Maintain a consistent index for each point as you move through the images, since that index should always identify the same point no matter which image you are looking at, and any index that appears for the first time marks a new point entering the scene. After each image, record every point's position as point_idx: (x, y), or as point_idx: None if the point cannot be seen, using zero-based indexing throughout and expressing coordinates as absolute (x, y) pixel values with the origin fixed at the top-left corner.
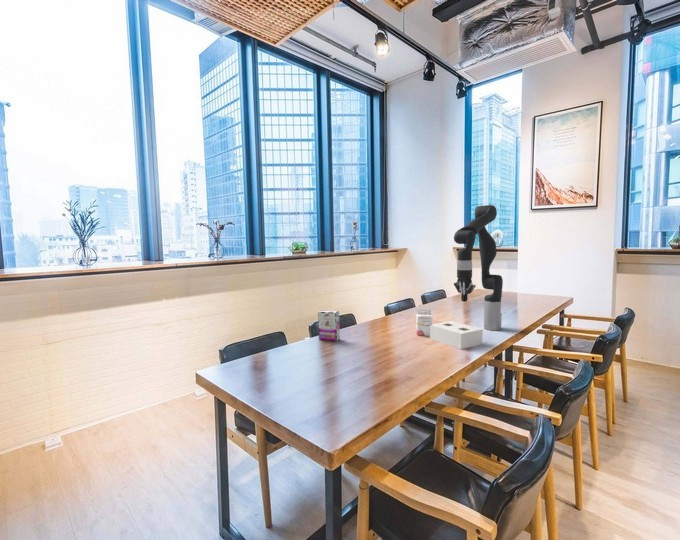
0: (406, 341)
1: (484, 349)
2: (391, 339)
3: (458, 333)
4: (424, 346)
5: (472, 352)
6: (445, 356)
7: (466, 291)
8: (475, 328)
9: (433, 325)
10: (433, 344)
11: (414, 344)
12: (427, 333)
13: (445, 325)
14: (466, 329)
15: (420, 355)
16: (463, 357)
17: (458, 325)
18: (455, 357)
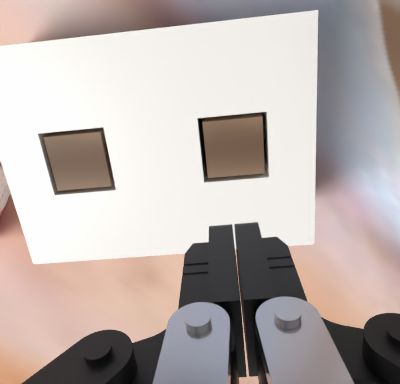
0: (69, 331)
1: (368, 90)
2: (18, 363)
3: (290, 244)
4: (169, 309)
5: (360, 185)
6: (324, 316)
7: (290, 375)
8: (267, 48)
9: (58, 257)
10: (162, 261)
11: (124, 327)
12: (2, 201)
13: (85, 188)
14: (249, 134)
15: (258, 379)
16: (380, 266)
17: (127, 104)
18: (358, 293)
